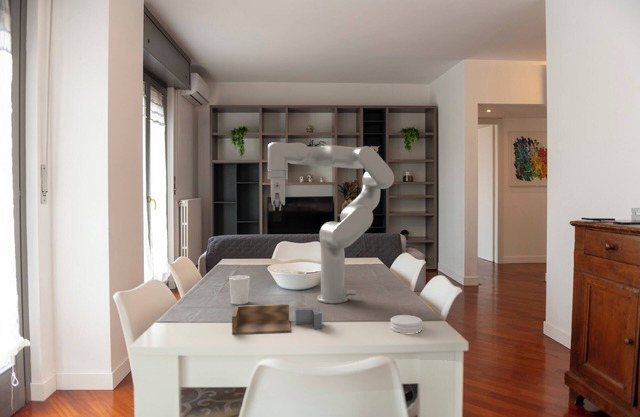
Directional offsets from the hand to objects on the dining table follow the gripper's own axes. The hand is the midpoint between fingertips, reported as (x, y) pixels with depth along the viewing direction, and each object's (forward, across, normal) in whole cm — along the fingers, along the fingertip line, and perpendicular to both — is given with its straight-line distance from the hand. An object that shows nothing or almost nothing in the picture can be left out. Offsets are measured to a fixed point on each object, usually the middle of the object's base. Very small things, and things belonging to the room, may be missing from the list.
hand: (277, 220), depth 162 cm
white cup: (+33, +5, +15) cm, 36 cm away
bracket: (+33, -25, -11) cm, 43 cm away
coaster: (+33, -30, -42) cm, 61 cm away
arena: (+33, -26, +4) cm, 42 cm away
